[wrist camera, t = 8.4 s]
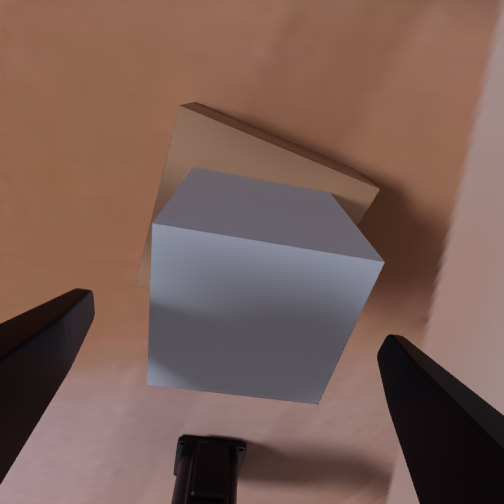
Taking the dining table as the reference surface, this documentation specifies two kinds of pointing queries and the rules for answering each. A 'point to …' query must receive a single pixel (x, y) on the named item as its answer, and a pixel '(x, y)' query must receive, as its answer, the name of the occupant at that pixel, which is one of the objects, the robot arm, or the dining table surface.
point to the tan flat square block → (249, 165)
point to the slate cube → (254, 287)
